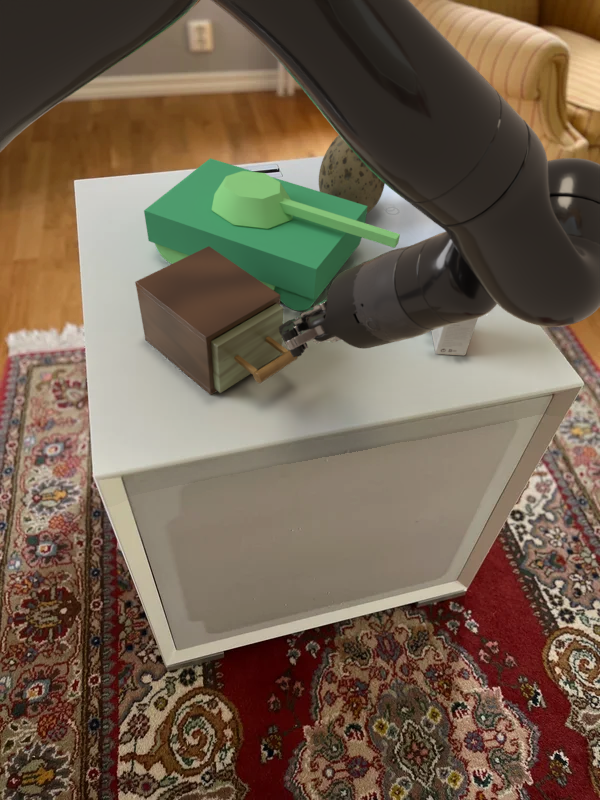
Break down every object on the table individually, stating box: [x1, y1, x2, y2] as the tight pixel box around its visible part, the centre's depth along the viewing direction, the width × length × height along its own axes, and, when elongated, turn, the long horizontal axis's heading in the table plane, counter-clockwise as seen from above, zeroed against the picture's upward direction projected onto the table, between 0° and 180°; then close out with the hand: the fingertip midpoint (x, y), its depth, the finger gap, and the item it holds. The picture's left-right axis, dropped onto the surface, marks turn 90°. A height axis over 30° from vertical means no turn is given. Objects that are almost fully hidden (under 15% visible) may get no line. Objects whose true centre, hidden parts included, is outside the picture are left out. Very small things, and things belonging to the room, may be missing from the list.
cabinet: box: [134, 246, 281, 396], centre depth 81 cm, size 14×12×10 cm
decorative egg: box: [318, 134, 386, 214], centre depth 103 cm, size 11×11×15 cm
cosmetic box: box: [431, 318, 479, 356], centre depth 83 cm, size 6×4×12 cm
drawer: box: [211, 303, 298, 394], centre depth 79 cm, size 17×10×8 cm, turn 45°
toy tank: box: [143, 158, 401, 312], centre depth 93 cm, size 18×12×35 cm
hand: (286, 332), depth 70 cm, fingers closed
